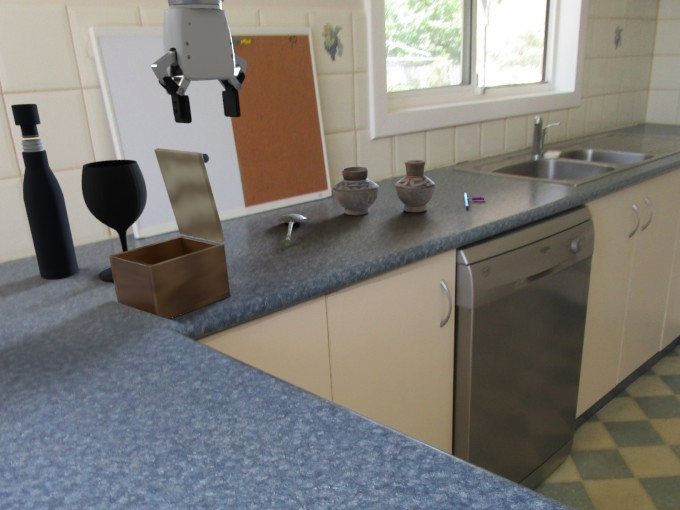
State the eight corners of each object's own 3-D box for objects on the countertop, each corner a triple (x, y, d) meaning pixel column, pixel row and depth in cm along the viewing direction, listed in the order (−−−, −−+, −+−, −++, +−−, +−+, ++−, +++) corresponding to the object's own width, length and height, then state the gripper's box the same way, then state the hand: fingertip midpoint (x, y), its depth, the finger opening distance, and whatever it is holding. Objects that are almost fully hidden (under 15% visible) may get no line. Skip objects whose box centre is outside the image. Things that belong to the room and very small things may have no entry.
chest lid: (197, 154, 99) (218, 145, 101) (153, 149, 104) (175, 141, 107) (222, 242, 106) (241, 232, 108) (179, 233, 111) (198, 224, 114)
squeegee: (486, 205, 163) (466, 205, 163) (486, 208, 163) (466, 208, 164) (482, 192, 177) (464, 192, 177) (482, 195, 177) (464, 195, 178)
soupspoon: (308, 223, 156) (280, 225, 156) (306, 209, 155) (278, 211, 155) (302, 245, 136) (270, 248, 135) (300, 229, 134) (268, 232, 134)
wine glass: (128, 285, 115) (107, 170, 108) (85, 278, 119) (63, 166, 112) (171, 268, 124) (155, 160, 117) (130, 262, 128) (112, 157, 121)
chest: (160, 323, 99) (151, 267, 96) (118, 309, 105) (108, 255, 101) (230, 295, 109) (224, 244, 106) (189, 284, 115) (182, 235, 112)
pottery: (439, 214, 159) (439, 164, 155) (334, 219, 156) (331, 168, 152) (431, 204, 169) (431, 156, 165) (333, 208, 167) (330, 161, 163)
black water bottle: (53, 281, 118) (15, 106, 107) (33, 275, 121) (-6, 105, 111) (86, 271, 123) (52, 103, 112) (66, 266, 126) (32, 102, 116)
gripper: (222, 3, 106) (234, 114, 112) (127, -2, 92) (146, 124, 98) (256, 0, 102) (266, 115, 108) (161, -6, 88) (179, 126, 94)
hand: (209, 119), depth 103 cm, fingers open, 9 cm apart
